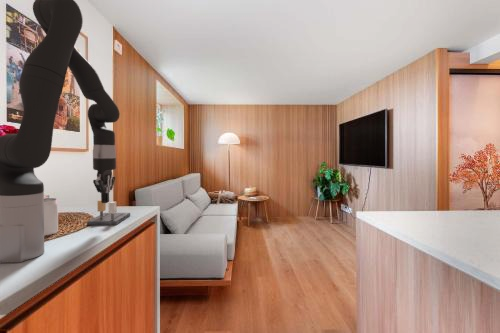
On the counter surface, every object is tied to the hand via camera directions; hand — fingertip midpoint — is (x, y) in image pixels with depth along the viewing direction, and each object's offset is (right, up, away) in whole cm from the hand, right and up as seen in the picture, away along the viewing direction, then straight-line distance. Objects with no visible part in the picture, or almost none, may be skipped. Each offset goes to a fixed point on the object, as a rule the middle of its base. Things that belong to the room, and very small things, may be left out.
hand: (105, 202), depth 94 cm
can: (-16, -10, -8) cm, 21 cm away
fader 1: (-8, -7, +10) cm, 15 cm away
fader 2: (-1, -8, +7) cm, 10 cm away
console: (-5, -9, +12) cm, 16 cm away
